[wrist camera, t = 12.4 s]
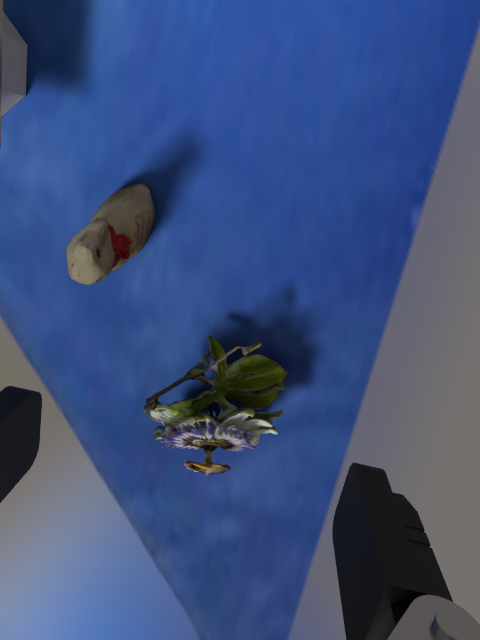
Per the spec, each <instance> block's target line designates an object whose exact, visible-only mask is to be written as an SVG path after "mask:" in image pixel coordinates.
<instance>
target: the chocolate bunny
mask: <svg viewBox="0 0 480 640" xmlns="http://www.w3.org/2000/svg"><path fill="white" fill-rule="evenodd" d="M154 219H155V208H154V204H153V201H152V196H151V192H150V191H149V188H148V187H147V186H146V184H136V185H134V186H130V187H127V188H124V189H121V190H118V191H117V192H115V193H113V194H112V195H111V196H110V197H109V198H108V199H107V200H106V201H105V202H104V203H103V204H102V205H101V206H100V207H99V209H98V210H97V211H96V213H95V215H94V216H93V217H92V219H91V220H90V222H89V224H88V225H86V226H85V227H84V228H83V229H82V230H81V231H80V232H79V233H78V234H76V235H75V236H74V237H73V238H72V240H71V241H70V243H69V244H68V246H67V249H66V253H67V261H68V268H69V275H70V276H71V278H72V279H74V280H75V281H77V282H79V283H81V284H85V285H90V284H94V283H96V282H99V281H101V280H103V279H105V278H106V277H107V276H108V275H109V274H110V272H111V271H115V270H117V269H119V268H120V267H122V266H123V264H124V263H125V262H127V261H128V260H129V259H130V258H131V257H133V256H134V255H136V254H137V253H138V252H139V251H140V250H141V249H142V247H143V246H144V244H145V242H146V240H147V238H148V237H149V233H150V231H151V229H152V226H153V223H154Z"/></svg>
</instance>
